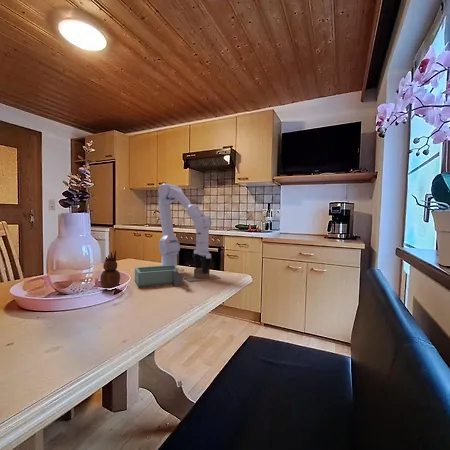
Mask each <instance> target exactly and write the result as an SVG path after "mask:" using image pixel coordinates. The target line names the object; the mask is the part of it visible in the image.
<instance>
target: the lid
mask: <svg viewBox="0 0 450 450" xmlns="http://www.w3.org/2000/svg"><path fill="white" fill-rule="evenodd" d="M210 270H211V269H210V268H209V270H208V273H203V270H202V267H201V268H196V267H195V268H194V269H193V271H194V272H193V275H187V276H182V279H184V280H186V281H188V283H194V282H203V281H209V280H210V281H212V280H218V279H221V277H220V276H218V275H216V274H213V273H210Z"/></svg>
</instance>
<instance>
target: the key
mask: <svg viewBox="0 0 450 450" xmlns="http://www.w3.org/2000/svg"><path fill="white" fill-rule="evenodd" d="M175 270H176V271H177V272H178V273H182V274H185V268H184V267H182V266H181V265H177V266H176V267H175Z"/></svg>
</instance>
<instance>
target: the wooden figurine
mask: <svg viewBox="0 0 450 450" xmlns="http://www.w3.org/2000/svg"><path fill="white" fill-rule="evenodd" d="M117 268H118V263H117V251H116V250H115V251H114V254H113V253H112V251H111V252H110V255H109V254H108V255H107V256H106V257H105V259H104V263H103V271H102V273H101V274H100V279H99V280H100V285H101V287H102V289H103V288H112V287H115V286H118V287H119V284H120V280H121V273H120V272H119V270H117Z"/></svg>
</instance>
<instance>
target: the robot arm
mask: <svg viewBox="0 0 450 450" xmlns="http://www.w3.org/2000/svg"><path fill="white" fill-rule="evenodd" d="M157 191H158V193H157V194H158V201H157V202H158V210H159V217H160V225H161V226H160V227H161V231H162V237H161V238H160V239H159V241H158V242H159V246H158V250H159V253H160V254H161V263H160V264H161V265H160V266H164V265H177V266H178V254H179V252H180V250H181V244H180V242H179V239H178V237H177V236H176V235H175V232H174V226H173V219H172V211H171V204H172V202H174V201H175V200H177V201H178V202H179V203H180V205H182V207H184V208H185V214H187V216H188V217H189V218H190V219H191V221H192V222H193V227H194V228H195V249H193V254H192V255H191V257H192V260H193V262H194V266H195V268H202V270H203V273H208V270H209V269H210V266H211V265H212V264H211V263H212V261H213V260H214V259H213V257H212V253H210V251H209V246H210V245H209V240H210V238H209V235H210V234H209V233H210V232H209V231H210V230H209V229H210V228H211V225H212V220H211V218H210V217H209V216H208V215H205V213H204V212H202V211H201V209H200V208H199V205H196V204H192V203H191V202H190V200H189V199H188V197H187V196H186V195H185V193H184V192H183V189H182V188H181V187H180V186H179V185H177V184H168V183H162V184H160V185H159V187H158V189H157Z"/></svg>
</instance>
